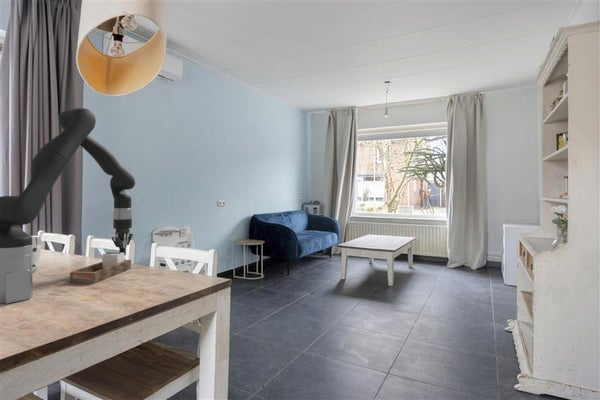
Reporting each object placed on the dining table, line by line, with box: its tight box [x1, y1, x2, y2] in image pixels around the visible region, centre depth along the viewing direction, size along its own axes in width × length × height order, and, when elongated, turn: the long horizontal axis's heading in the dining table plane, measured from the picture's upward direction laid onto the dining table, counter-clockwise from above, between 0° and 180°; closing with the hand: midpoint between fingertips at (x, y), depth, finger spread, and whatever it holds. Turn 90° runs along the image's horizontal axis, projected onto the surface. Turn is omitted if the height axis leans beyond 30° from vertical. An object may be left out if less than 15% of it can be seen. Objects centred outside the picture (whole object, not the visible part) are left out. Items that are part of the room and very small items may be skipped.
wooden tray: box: [69, 259, 132, 284], centre depth 139 cm, size 24×10×4 cm, turn 177°
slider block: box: [101, 251, 125, 268], centre depth 146 cm, size 5×7×6 cm
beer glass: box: [30, 235, 42, 273], centre depth 143 cm, size 7×7×15 cm
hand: (122, 255), depth 153 cm, fingers closed
